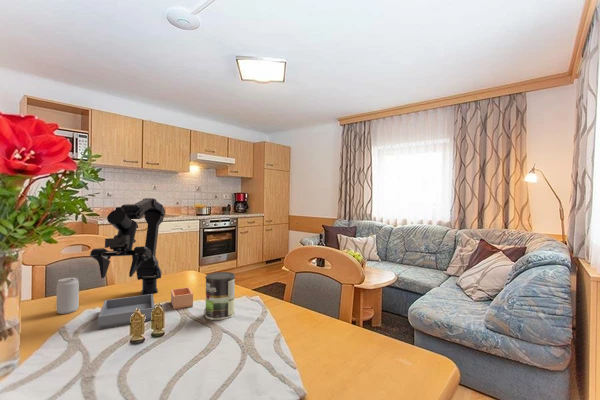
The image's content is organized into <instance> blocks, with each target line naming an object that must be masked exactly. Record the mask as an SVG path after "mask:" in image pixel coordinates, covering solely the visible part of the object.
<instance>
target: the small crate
mask: <svg viewBox="0 0 600 400" xmlns="http://www.w3.org/2000/svg"><path fill="white" fill-rule="evenodd" d="M170 303H171V306H173V307H172V310H173V309H176V310H180V309H179V308H182V309H186V308H185V307H188V308H193V307H194V293H193V291H192V289H191V287H190V286H189V287H188V286H187V287H181V288H174V289H173V288H172V289H171V290H170ZM192 306H193V307H192Z"/></svg>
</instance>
